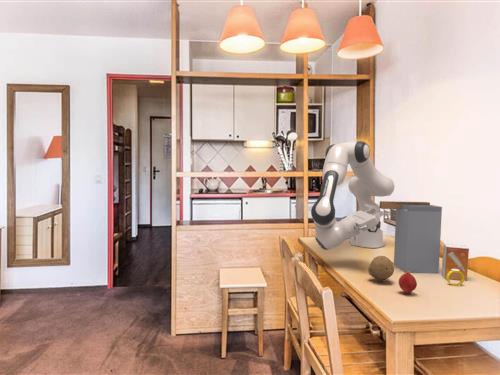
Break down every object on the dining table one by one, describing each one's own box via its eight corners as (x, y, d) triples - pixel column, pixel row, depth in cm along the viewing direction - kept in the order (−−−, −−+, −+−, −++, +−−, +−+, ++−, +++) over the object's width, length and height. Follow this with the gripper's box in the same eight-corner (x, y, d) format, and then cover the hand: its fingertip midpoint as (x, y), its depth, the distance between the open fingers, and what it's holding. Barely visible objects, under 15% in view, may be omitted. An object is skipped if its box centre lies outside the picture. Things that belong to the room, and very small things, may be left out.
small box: (444, 278, 147) (446, 246, 146) (441, 274, 153) (443, 243, 152) (467, 281, 144) (469, 248, 144) (463, 276, 150) (465, 245, 150)
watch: (449, 286, 138) (448, 271, 138) (445, 284, 141) (445, 268, 141) (465, 286, 138) (465, 270, 138) (461, 283, 141) (461, 268, 140)
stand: (393, 265, 166) (396, 203, 164) (424, 265, 166) (427, 203, 165) (405, 272, 154) (408, 206, 152) (438, 273, 154) (441, 206, 153)
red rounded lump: (395, 290, 131) (396, 268, 131) (410, 290, 132) (411, 268, 131) (403, 296, 126) (404, 273, 125) (419, 296, 126) (420, 273, 126)
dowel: (379, 208, 162) (379, 201, 162) (426, 208, 163) (426, 201, 163) (382, 208, 159) (382, 201, 159) (429, 209, 160) (430, 202, 160)
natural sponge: (398, 285, 138) (399, 258, 137) (376, 286, 136) (377, 259, 136) (385, 277, 147) (386, 253, 146) (365, 278, 145) (365, 253, 145)
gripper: (355, 224, 151) (384, 207, 151) (341, 216, 171) (367, 202, 171) (362, 237, 151) (391, 220, 151) (347, 228, 171) (373, 214, 171)
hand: (378, 210), depth 161 cm, fingers open, 8 cm apart
